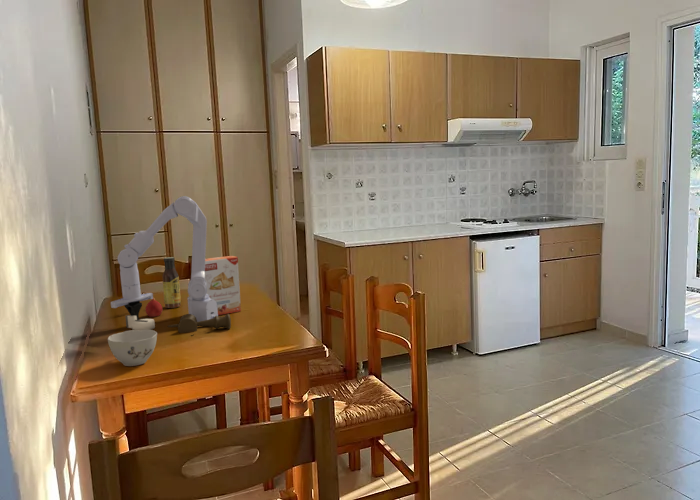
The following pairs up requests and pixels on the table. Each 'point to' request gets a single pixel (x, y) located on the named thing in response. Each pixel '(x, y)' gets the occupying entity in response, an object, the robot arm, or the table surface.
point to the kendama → (201, 323)
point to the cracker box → (223, 283)
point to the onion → (153, 308)
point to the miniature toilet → (139, 323)
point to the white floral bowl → (133, 346)
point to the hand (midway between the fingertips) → (135, 324)
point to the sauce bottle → (171, 284)
